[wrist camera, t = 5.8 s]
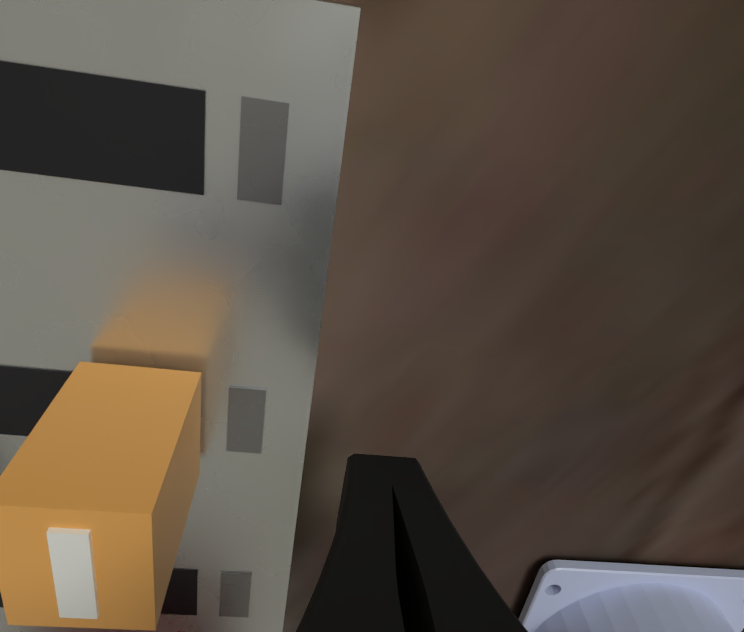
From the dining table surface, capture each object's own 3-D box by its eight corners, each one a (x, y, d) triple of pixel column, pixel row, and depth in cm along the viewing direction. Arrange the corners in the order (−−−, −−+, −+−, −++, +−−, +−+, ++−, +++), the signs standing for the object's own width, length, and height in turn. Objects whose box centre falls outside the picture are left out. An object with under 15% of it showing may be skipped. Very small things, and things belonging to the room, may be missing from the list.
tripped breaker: (200, 473, 13) (153, 635, 10) (90, 465, 13) (4, 631, 10) (201, 372, 12) (149, 519, 9) (79, 361, 12) (-24, 509, 8)
